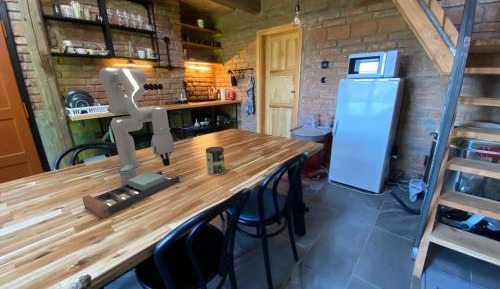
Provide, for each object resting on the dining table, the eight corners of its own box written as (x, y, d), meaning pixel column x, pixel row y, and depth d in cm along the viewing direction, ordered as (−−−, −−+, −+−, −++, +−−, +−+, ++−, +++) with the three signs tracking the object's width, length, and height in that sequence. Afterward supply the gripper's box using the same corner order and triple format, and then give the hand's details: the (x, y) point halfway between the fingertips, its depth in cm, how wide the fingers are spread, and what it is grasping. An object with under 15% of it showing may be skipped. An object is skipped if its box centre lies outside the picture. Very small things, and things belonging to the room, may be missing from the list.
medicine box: (128, 180, 120) (125, 165, 118) (137, 179, 121) (134, 164, 118) (121, 186, 113) (118, 170, 110) (130, 185, 113) (127, 170, 111)
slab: (128, 185, 107) (127, 179, 106) (150, 176, 117) (149, 171, 116) (143, 191, 101) (142, 185, 100) (165, 181, 111) (164, 175, 110)
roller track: (84, 207, 93) (82, 197, 92) (161, 176, 124) (160, 167, 123) (103, 218, 86) (100, 207, 84) (179, 181, 117) (178, 172, 115)
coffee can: (227, 169, 133) (226, 146, 129) (221, 175, 123) (220, 151, 119) (211, 168, 135) (209, 146, 131) (204, 174, 125) (202, 151, 121)
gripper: (168, 128, 120) (173, 160, 125) (143, 133, 108) (149, 168, 112) (178, 129, 116) (182, 162, 121) (153, 134, 104) (159, 171, 109)
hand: (166, 165), depth 117 cm, fingers closed
